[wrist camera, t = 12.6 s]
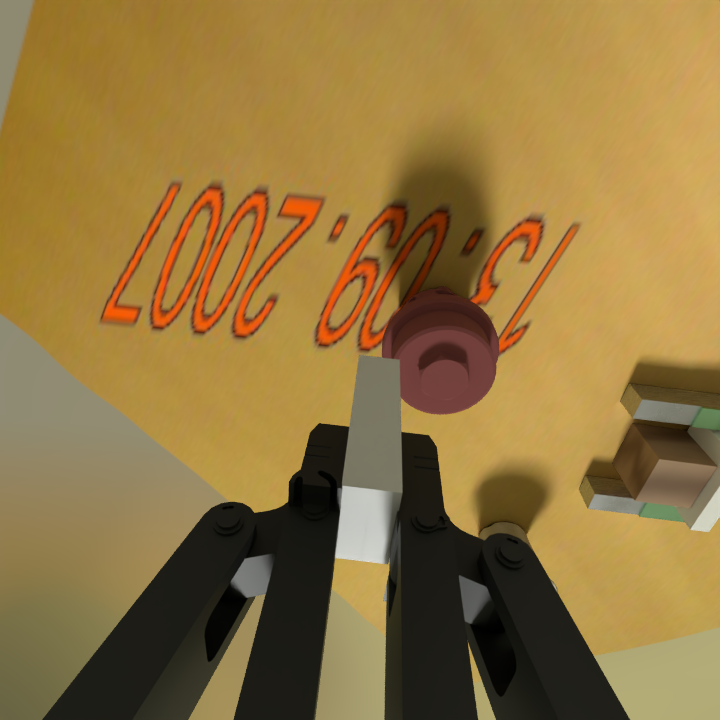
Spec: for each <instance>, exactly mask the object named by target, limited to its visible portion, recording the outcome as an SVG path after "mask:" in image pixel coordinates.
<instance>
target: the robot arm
mask: <svg viewBox="0 0 720 720" xmlns="http://www.w3.org/2000/svg"><path fill="white" fill-rule="evenodd" d="M389 557H390V571H389V576H388V581H387V585H386V590H385V595H384V600H383V601H387V607H386V664H385V665H386V667H385V720H478V716H477V709H476V701H475V694H474V686H473V679H472V671H471V664H470V656H469V649H468V643H469V646H470V649H471V651H472V654H473V657H474V660H475V662H476V665H477V668H478V671H479V674H480V676H481V679H482V682H483V685H484V687H485V690H486V693H487V696H488V699H489V701H490V704H491V707H492V710H493V712H494V715H495V718H496V720H630V719H629V718H628V715H627V714H626V712H625V711H624V708H623V707H622V705H621V703H620V701H619V700H618V698H617V696H616V694H615V693H614V691H613V689H612V688H611V686H610V684H609V682H608V681H607V679H606V677H605V675H604V673H603V672H602V670H601V668H600V666H599V665H598V663H597V661H596V659H595V658H594V656H593V654H592V652H591V651H590V649H589V647H588V645H587V644H586V642H585V640H584V638H583V637H582V635H581V633H580V631H579V630H578V628H577V626H576V624H575V623H574V621H573V619H572V617H571V616H570V614H569V612H568V610H567V609H566V607H565V605H564V603H563V602H562V600H561V598H560V596H559V594H558V593H557V591H556V589H555V587H554V586H553V584H552V582H551V580H550V579H549V577H548V575H547V573H546V572H545V570H544V568H543V566H542V565H541V563H540V561H539V559H538V558H537V556H536V554H535V553H534V551H533V550H532V549H531V548H530V546H529V545H528V544H527V543H525V542H524V541H522V540H521V539H520V538H518V537H515V536H513V535H510V534H506V533H496V534H492V535H490V536H489V537H487V538H486V539H485V540H482V539H480V538H478V537H475V536H473V535H470V534H468V533H466V532H464V531H462V530H460V529H459V528H458V527H456V526H455V525H454V524H453V523H452V522H451V521H450V518H449V517H448V515H447V514H446V512H445V509H444V503H443V495H442V486H441V478H440V471H439V462H438V454H437V447H436V445H435V444H434V442H433V441H432V439H431V438H430V436H429V435H422V434H414V433H405V432H401V399H400V360H398V359H389V358H381V357H372V356H364V355H359V361H358V368H357V375H356V383H355V390H354V398H353V405H352V412H351V420H350V427H346V426H338V425H330V424H321V423H319V424H318V425H317V426H316V427H315V428H314V429H313V430H312V431H311V432H310V435H309V439H308V443H307V447H306V451H305V456H304V459H303V463H302V467H301V470H299V471H298V472H297V473H295V474H294V475H293V476H292V478H291V480H290V481H289V499H288V502H287V503H286V504H285V505H283V506H281V507H279V508H277V509H274V510H270V511H265V512H258V513H254V512H253V511H252V509H251V508H250V507H248V506H247V505H245V504H243V503H238V502H227V503H221V504H219V505H217V506H215V507H213V508H211V509H210V510H209V511H208V512H207V513H205V514H204V516H203V517H202V518H201V519H200V521H199V522H198V523H197V524H196V526H195V527H194V528H193V530H192V531H191V532H190V533H189V535H188V536H187V537H186V538H185V540H184V541H183V542H182V543H181V545H180V546H179V547H178V548H177V550H176V551H175V552H174V554H173V555H172V556H171V557H170V559H169V560H168V561H167V563H166V564H165V565H164V566H163V568H162V569H161V570H160V571H159V572H158V574H157V575H156V576H155V578H154V579H153V580H152V581H151V583H150V584H149V585H148V586H147V588H146V589H145V590H144V591H143V593H142V594H141V595H140V597H139V598H138V599H137V600H136V602H135V603H134V604H133V605H132V607H131V608H130V609H129V611H128V612H127V613H126V614H125V616H124V617H123V618H122V619H121V621H120V622H119V623H118V625H117V626H116V627H115V628H114V630H113V631H112V632H111V633H110V635H109V636H108V637H107V638H106V640H105V641H104V642H103V643H102V645H101V646H100V647H99V648H98V650H97V651H96V652H95V654H94V655H93V656H92V657H91V659H90V660H89V661H88V663H87V664H86V665H85V666H84V667H83V669H82V670H81V671H80V673H79V674H78V675H77V676H76V678H75V679H74V680H73V682H72V683H71V684H70V685H69V687H68V688H67V689H66V690H65V692H64V693H63V694H62V696H61V697H60V698H59V699H58V700H57V702H56V703H55V704H54V705H53V707H52V708H51V709H50V711H49V712H48V713H47V714H46V716H45V717H44V718H43V720H188V719H189V717H190V715H191V714H192V712H193V710H194V708H195V706H196V704H197V703H198V701H199V699H200V697H201V695H202V694H203V692H204V689H205V688H206V686H207V685H208V682H209V681H210V679H211V677H212V675H213V673H214V672H215V670H216V668H217V666H218V664H219V663H220V661H221V659H222V657H223V655H224V653H225V652H226V650H227V648H228V646H229V644H230V642H231V641H232V639H233V637H234V635H235V633H236V632H237V630H238V628H239V626H240V624H241V622H242V620H243V619H244V617H245V615H246V613H247V612H248V610H249V608H250V606H251V604H252V603H253V601H254V599H255V596H257V595H263V594H266V595H265V599H264V603H263V607H262V611H261V615H260V619H259V622H258V626H257V630H256V634H255V638H254V642H253V646H252V650H251V654H250V658H249V662H248V665H247V669H246V673H245V677H244V681H243V685H242V689H241V693H240V697H239V701H238V705H237V708H236V712H235V716H234V720H315V715H316V708H317V700H318V692H319V684H320V676H321V668H322V660H323V652H324V644H325V636H326V628H327V619H328V612H329V603H330V596H331V588H332V580H333V571H334V562H335V558H341V559H349V560H357V561H365V562H374V563H382V564H388V562H389ZM467 640H468V641H467Z"/></svg>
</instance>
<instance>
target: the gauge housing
mask: <svg viewBox="0 0 720 720" xmlns="http://www.w3.org/2000/svg"><path fill="white" fill-rule="evenodd" d="M620 402H621V403H622V405H623V406H624V407H625V409H626V410H627V411H628V413H629V414H630V415H631V417H632V418H634V419H642V420H651V421H659V422H667V423H676V424H684V425H691V426H692V427H696V428H704V429H712V430H720V394H713V393H705V392H696V391H688V390H680V389H671V388H663V387H655V386H646V385H638V384H630V383H629V384H628V387H627V389H626V391H625V393H624V395H623V397H622V399H621V401H620ZM579 491H580V493H581V495H582V498H583V500H584V502H585V504H586V506H587V508H588V509H595V510H604V511H612V512H620V513H628V514H637V515H639V517H646V518H654V519H662V520H671V521H679V522H685V521H684V520H683V519H682V517H681V516H680V514H679V513H678V511H677V510H676V508H675V507H674V506H669V505H662V504H654V503H646V502H638V501H635V500H634V499H633V497H632V495H631V494H630V492H629V490H628V489H627V487H626V485H625V484H624V482H623V480H618V479H610V478H601V477H593V476H585V478H584V480H583V482H582V484H581V486H580V488H579Z"/></svg>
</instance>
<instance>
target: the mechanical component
mask: <svg viewBox="0 0 720 720" xmlns="http://www.w3.org/2000/svg"><path fill="white" fill-rule="evenodd" d="M498 354H499V341H498V336H497V333H496V330H495V328H494V326H493V324H492V321H491V320H490V318H489V317H488V315H487V314H486V313H485V312H484V311H483V310H482V309H481V308H480V307H479V306H478V305H476V304H475V303H473V302H471V301H470V300H467V299H465V298H462V297H459V296H457V295H456V294H454V293H452V292H451V291H450V289H449V288H447V287H445V286H441V287H438V288H437V289H429V290H425V291H422V292H420V293H418V294H416V295H414V296H413V297H411V298H410V299H409V300H408V301H407V302H406V304H405V305H404V306H403V308H402V309H400V310H399V311H398V312H397V313H396V314H395V315H394V316H393V318H392V319H391V321H390V322H389V324H388V326H387V328H386V330H385V333H384V336H383V343H382V358H389V359H398V360H400V397H401V398H402V399H403V400H404V401H405V402H406V403H408V404H409V405H410V406H412V407H414V408H415V409H417V410H420V411H423V412H426V413H431V414H451V413H456V412H460V411H463V410H465V409H468V408H470V407H471V406H473V405H475V404H476V403H478V402H479V401H480V400H481V399H482V398H483V397H484V396H485V395H486V394H487V393H488V391H489V390H490V388H491V387H492V384H493V382H494V379H495V375H496V363H497V360H498Z"/></svg>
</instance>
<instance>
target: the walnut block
mask: <svg viewBox="0 0 720 720" xmlns="http://www.w3.org/2000/svg"><path fill="white" fill-rule="evenodd" d="M612 464H613V466H614V467H615V469H616V471H617V472H618V474H619V475H620V477H621V479H622V480H623V482H624V484H625V485H626V487H627V489H628V490H629V492H630V494H631V495H632V497H633V499H634V500H635V501H638V502H646V503H654V504H662V505H669V506H677V507H685V508H691V506H692V505H693V503H694V502H695V500H696V499H697V497H698V496H699V494H700V493H701V491H702V490H703V488H704V487H705V485H706V484H707V482H708V481H709V480H710V478H711V477H712V475H713V474H714V472H715V471H716V469H717V468H718V466H717V465H716V464H715V463H714V462H713V460H712V459H711V458H710V457H709V456H708V455H707V454H706V453H705V451H704V450H703V449H702V448H701V447H700V446H699V445H698V444H697V442H696V441H695V440H694V439H693V438H692V437H691V436H690V435H689V433H688V432H687V431H686V430H681V429H673V428H665V427H658V426H650V425H643V424H635V423H633V424H632V426H631V428H630V429H629V431H628V433H627V435H626V437H625V439H624V441H623V443H622V445H621V447H620V449H619V451H618V453H617V454H616V456H615V458H614V460H613V462H612Z"/></svg>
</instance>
